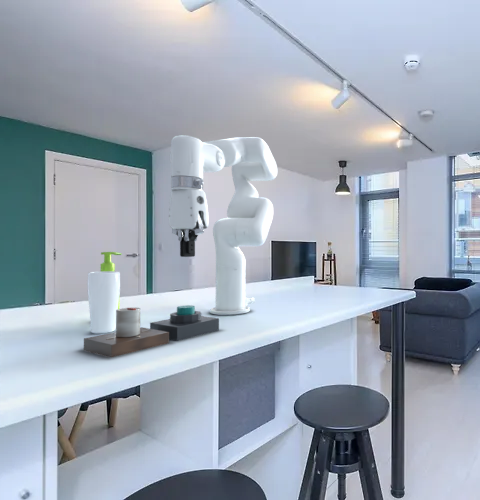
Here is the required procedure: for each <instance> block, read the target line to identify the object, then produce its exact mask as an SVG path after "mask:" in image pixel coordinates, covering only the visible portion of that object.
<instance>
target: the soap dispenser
mask: <svg viewBox="0 0 480 500" xmlns="http://www.w3.org/2000/svg"><path fill="white" fill-rule="evenodd" d="M100 255H101V256H102V255H103V262H102V263H100V272H106V271H115V269H116V264H115V263H113V261H112V255H114V256H122V255H123V253H121V252H118V251H103V252H100ZM115 272H116V271H115ZM120 296H121V295H119V304H118V309H120V301H121V299H120V298H121V297H120Z"/></svg>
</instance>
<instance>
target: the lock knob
mask: <svg viewBox="0 0 480 500" xmlns="http://www.w3.org/2000/svg"><path fill="white" fill-rule="evenodd" d="M140 327H141V307H122V308H119V309H117V310H116V330H115V332H116V337H132V336H137V335H139V334H140Z"/></svg>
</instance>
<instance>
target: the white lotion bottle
mask: <svg viewBox="0 0 480 500" xmlns="http://www.w3.org/2000/svg"><path fill="white" fill-rule="evenodd" d="M86 281H87V283H86V285H87V298H88V299H87V300H88V308H89V309H88V311H89V320H90V332H91V333H92V334H96V335H97V334H99V335H102V334H109V333H114V332H116V310H117V309H118V304H119V295H120V293H121V271H106V272H101V271H90V272H89V271H88V272H87V280H86ZM120 296H121V295H120ZM119 305H120V304H119Z"/></svg>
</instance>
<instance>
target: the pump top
mask: <svg viewBox="0 0 480 500" xmlns="http://www.w3.org/2000/svg"><path fill="white" fill-rule="evenodd" d="M195 308H196V306H195V305H192V304H191V305H189V304H187V305H179V306H178V305H177V307H176V312H177V315H190V314H195V311H196V309H195Z"/></svg>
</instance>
